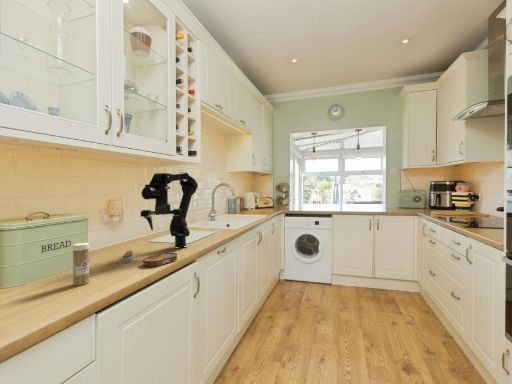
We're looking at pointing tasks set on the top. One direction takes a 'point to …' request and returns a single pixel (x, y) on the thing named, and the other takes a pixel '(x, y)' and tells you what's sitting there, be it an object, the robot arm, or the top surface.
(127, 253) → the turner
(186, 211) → the robot arm
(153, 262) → the tin
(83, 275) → the sprinkles bottle
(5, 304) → the top surface
